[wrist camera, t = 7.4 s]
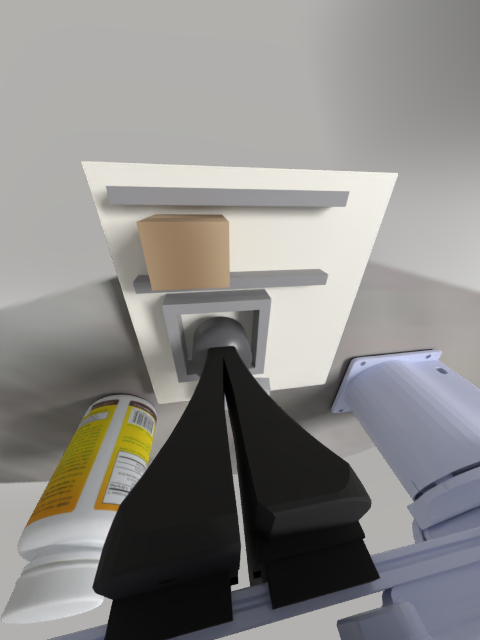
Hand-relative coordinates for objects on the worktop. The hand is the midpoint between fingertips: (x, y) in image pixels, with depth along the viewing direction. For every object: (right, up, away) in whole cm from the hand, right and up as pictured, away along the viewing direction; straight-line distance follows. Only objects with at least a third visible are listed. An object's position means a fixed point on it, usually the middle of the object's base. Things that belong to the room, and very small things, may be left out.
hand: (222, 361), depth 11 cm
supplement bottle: (-9, -6, +7) cm, 13 cm away
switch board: (+1, +3, +3) cm, 5 cm away
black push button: (0, +1, +2) cm, 2 cm away
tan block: (-1, +6, -1) cm, 6 cm away
